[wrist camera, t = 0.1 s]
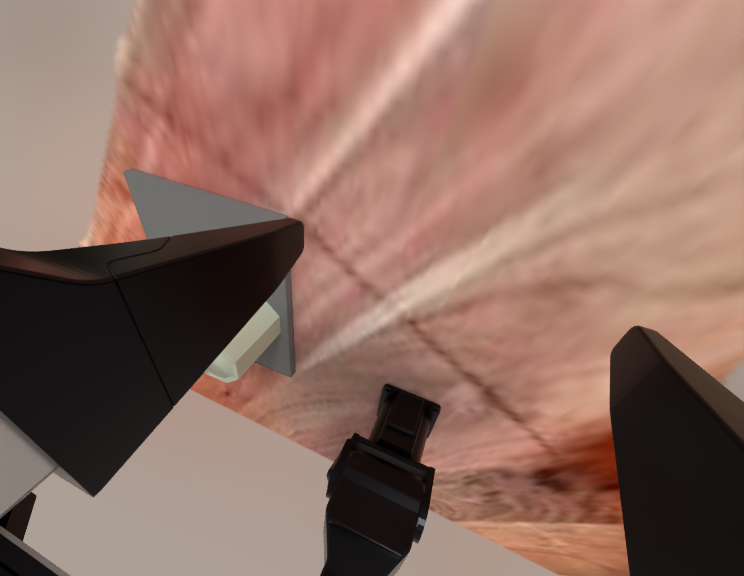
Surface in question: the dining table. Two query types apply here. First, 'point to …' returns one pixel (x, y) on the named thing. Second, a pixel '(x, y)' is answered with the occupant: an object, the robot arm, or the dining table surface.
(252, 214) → the mat
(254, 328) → the sage cup
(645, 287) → the dining table surface
